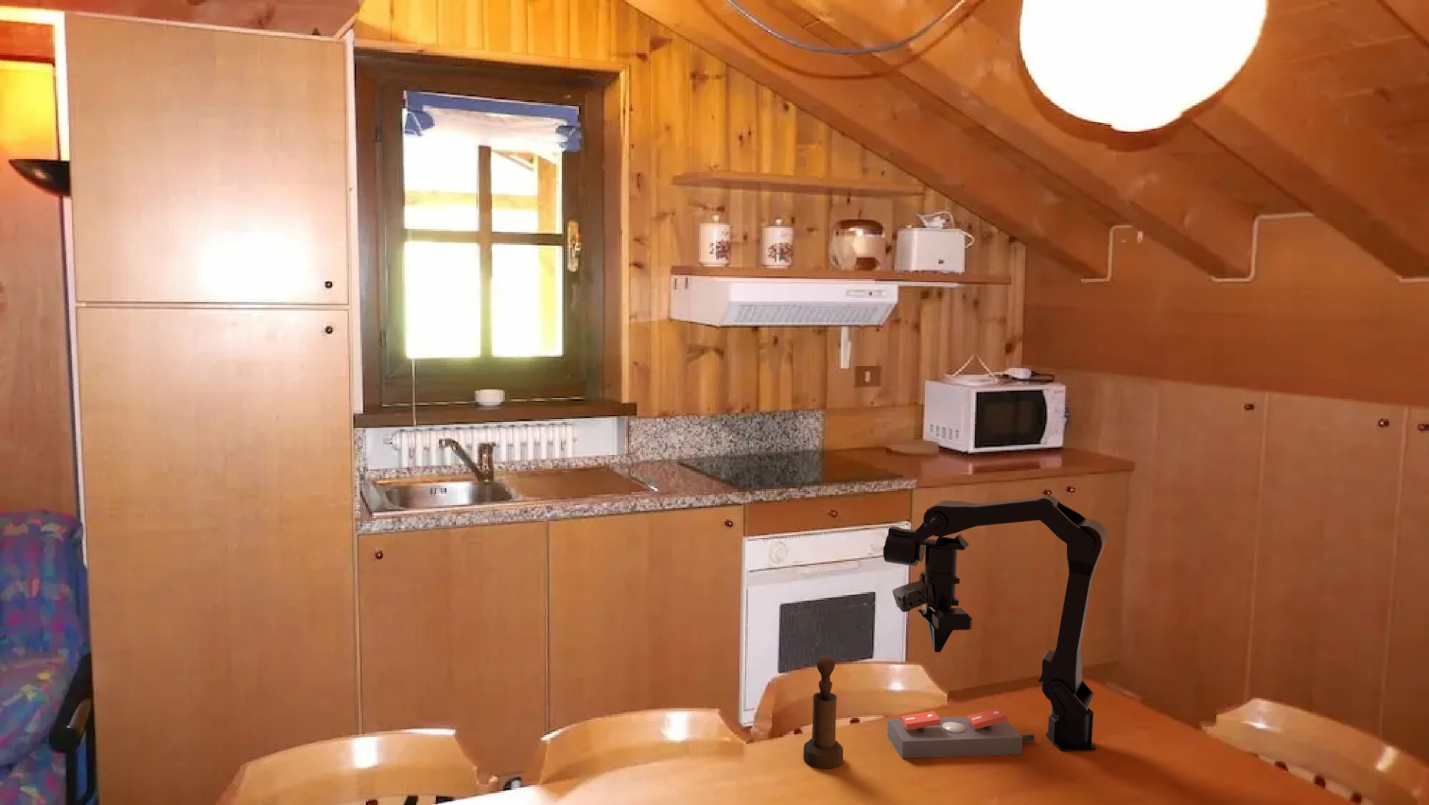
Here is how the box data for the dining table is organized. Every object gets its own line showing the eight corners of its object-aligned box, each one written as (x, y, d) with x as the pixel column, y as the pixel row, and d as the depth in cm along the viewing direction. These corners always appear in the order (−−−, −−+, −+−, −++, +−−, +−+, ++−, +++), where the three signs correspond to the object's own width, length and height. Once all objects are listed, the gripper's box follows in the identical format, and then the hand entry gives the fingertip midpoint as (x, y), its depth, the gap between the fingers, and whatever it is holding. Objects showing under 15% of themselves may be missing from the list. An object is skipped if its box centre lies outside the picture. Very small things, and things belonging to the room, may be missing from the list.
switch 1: (934, 716, 178) (933, 710, 178) (940, 724, 175) (940, 718, 175) (901, 721, 178) (900, 715, 178) (906, 729, 174) (906, 723, 174)
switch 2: (1000, 712, 180) (998, 706, 179) (1007, 720, 176) (1006, 714, 176) (967, 721, 179) (966, 715, 179) (974, 729, 176) (973, 723, 176)
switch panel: (1022, 730, 183) (1023, 711, 183) (1043, 753, 175) (1044, 733, 174) (887, 735, 181) (888, 715, 180) (902, 758, 172) (902, 738, 171)
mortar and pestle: (842, 752, 174) (845, 650, 172) (843, 770, 167) (846, 664, 165) (803, 750, 174) (806, 648, 172) (802, 767, 168) (805, 662, 166)
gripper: (883, 557, 196) (881, 635, 197) (913, 585, 177) (909, 671, 179) (940, 556, 197) (936, 634, 199) (975, 584, 178) (971, 670, 180)
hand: (937, 651), depth 189 cm, fingers closed
